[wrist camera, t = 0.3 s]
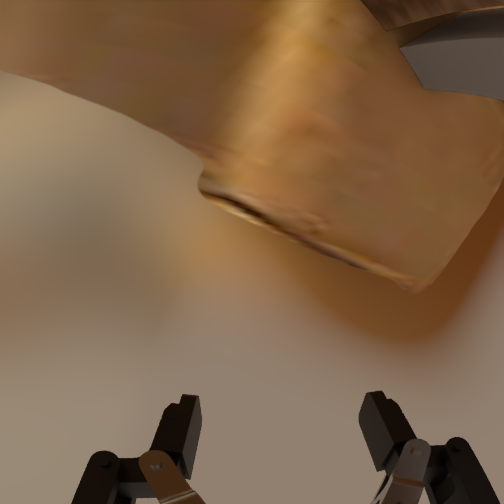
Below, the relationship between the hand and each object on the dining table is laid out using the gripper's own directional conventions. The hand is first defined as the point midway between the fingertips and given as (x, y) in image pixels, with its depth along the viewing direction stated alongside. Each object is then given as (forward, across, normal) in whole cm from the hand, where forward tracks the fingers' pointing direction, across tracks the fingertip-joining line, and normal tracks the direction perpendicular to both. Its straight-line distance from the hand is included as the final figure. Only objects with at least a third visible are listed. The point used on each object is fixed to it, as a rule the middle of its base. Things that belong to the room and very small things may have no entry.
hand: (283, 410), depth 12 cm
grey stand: (+22, -27, -35) cm, 49 cm away
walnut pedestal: (+19, -20, -42) cm, 50 cm away
